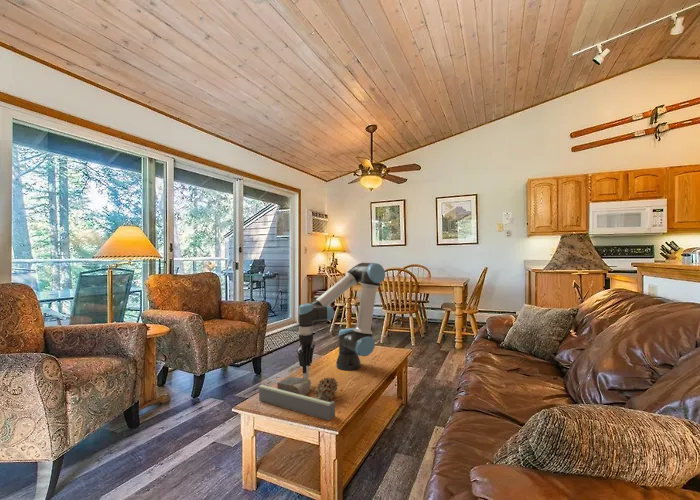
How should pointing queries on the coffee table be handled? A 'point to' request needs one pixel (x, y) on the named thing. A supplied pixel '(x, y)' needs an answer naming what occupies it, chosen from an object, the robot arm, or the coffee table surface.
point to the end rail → (297, 402)
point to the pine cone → (326, 389)
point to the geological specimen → (295, 385)
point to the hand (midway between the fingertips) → (305, 378)
